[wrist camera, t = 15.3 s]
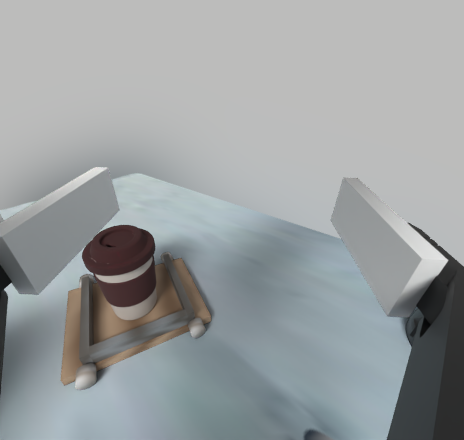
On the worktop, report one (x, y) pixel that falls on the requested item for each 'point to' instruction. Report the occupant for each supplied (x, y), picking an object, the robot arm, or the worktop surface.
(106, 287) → the coffee cup
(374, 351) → the worktop surface
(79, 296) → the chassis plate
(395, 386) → the worktop surface
